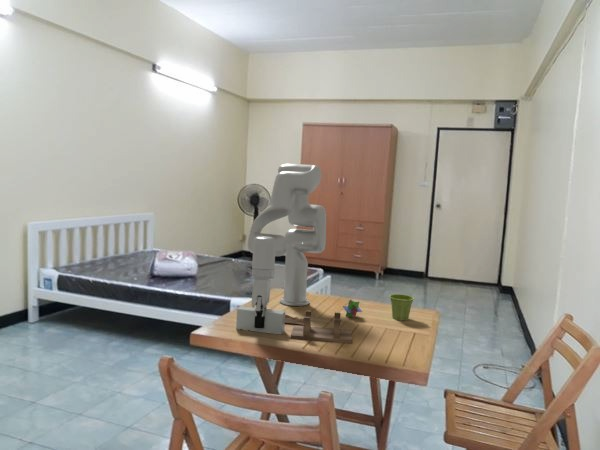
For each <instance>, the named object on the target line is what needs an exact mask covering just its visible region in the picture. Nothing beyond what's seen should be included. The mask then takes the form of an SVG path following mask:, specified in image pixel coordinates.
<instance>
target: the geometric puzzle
mask: <svg viewBox="0 0 600 450" xmlns="http://www.w3.org/2000/svg"><path fill="white" fill-rule="evenodd" d="M359 305H360V301H354V300H352V299H349V300H348V302H347V303H346V305H342V308H343V310H344V312H346V313H345V317H349V318H350V319H351V318H353V319H354V320H355V319H356V318H357V316H359V315H360V314H361V313H363V310H362V309H361V308H360V307H359ZM358 313H359V314H358Z"/></svg>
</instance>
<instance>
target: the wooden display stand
mask: <svg viewBox="0 0 600 450" xmlns="http://www.w3.org/2000/svg"><path fill="white" fill-rule="evenodd" d="M312 312H313V311H312V310H308V309H307V310H305V315H304V316H303V319H304V325H293V326H292V329H291V333H290V337H289V338H290V339H291V340H292V339H294V340H307V341H309V340H310V341H318V342H330V343H344V344H346V343H348V344H352V343H353V336H352V330H351V329H342V328H341V321H342V319H341V315H342V313H341V312H334V317H333V319H334V320H333V328H332V327H331V328H330V327H316V326H312Z"/></svg>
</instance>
